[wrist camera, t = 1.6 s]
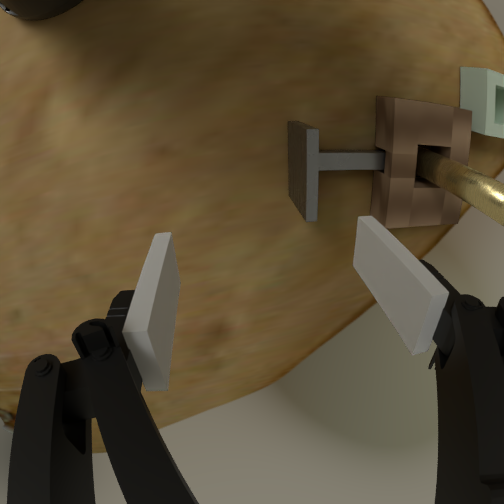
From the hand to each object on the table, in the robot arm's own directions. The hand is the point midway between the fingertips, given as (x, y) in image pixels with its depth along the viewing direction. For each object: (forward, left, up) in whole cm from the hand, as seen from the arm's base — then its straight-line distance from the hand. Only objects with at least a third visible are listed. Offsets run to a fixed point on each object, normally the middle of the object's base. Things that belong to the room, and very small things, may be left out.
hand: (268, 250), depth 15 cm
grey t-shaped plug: (0, +10, -19) cm, 22 cm away
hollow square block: (-8, +32, -19) cm, 38 cm away
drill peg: (0, +21, -19) cm, 28 cm away
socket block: (0, +21, -19) cm, 28 cm away
